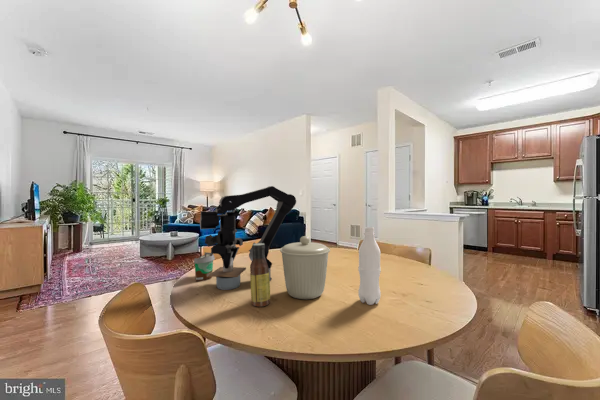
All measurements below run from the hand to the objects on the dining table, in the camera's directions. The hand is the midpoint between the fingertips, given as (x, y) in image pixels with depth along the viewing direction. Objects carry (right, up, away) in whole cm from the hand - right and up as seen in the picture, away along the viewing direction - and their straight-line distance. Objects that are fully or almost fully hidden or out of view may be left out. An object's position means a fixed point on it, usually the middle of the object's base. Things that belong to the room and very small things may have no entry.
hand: (228, 267), depth 107 cm
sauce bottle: (+15, -8, -18) cm, 25 cm away
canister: (+30, -8, -9) cm, 33 cm away
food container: (-12, -8, +10) cm, 18 cm away
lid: (0, -2, 0) cm, 2 cm away
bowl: (0, -8, 0) cm, 8 cm away
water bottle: (+52, -8, -16) cm, 55 cm away
